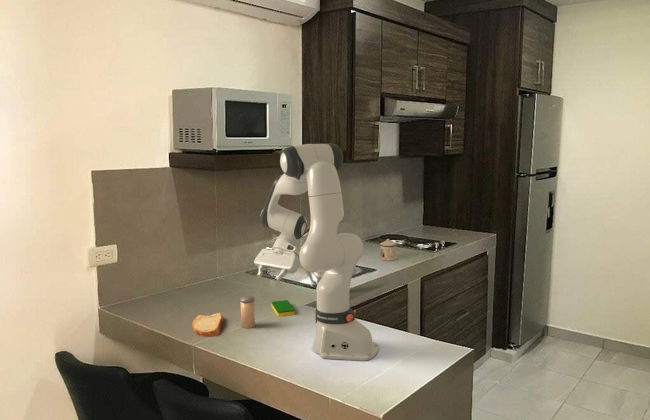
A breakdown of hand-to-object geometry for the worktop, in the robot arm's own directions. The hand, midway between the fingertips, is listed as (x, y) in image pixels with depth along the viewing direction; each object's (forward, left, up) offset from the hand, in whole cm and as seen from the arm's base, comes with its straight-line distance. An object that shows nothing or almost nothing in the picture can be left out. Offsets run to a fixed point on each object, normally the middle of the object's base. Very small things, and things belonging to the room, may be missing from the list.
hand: (268, 278), depth 219 cm
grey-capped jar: (+3, +12, -16) cm, 20 cm away
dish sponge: (-2, -9, -17) cm, 19 cm away
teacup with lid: (-23, -107, -16) cm, 111 cm away
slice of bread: (+17, +17, -16) cm, 29 cm away
